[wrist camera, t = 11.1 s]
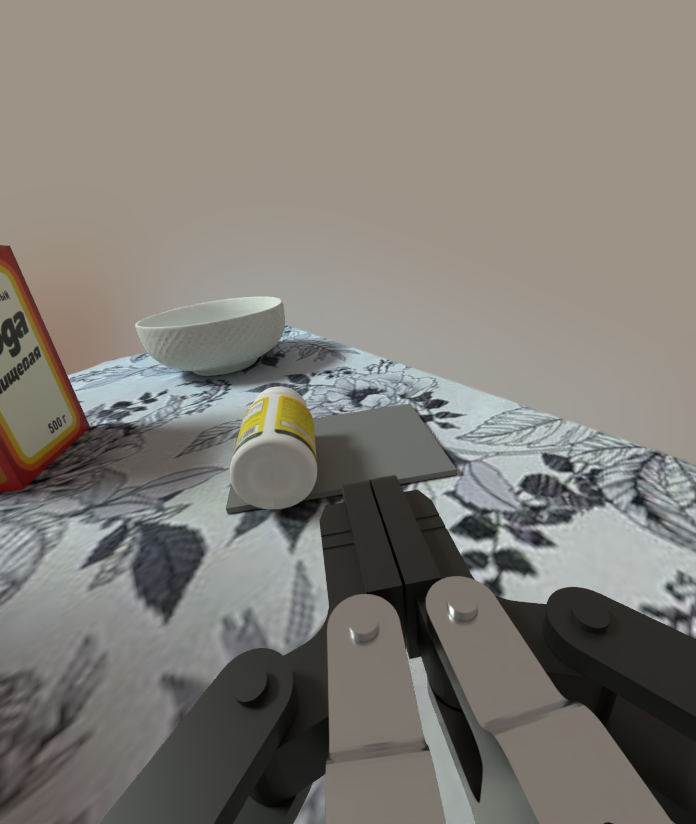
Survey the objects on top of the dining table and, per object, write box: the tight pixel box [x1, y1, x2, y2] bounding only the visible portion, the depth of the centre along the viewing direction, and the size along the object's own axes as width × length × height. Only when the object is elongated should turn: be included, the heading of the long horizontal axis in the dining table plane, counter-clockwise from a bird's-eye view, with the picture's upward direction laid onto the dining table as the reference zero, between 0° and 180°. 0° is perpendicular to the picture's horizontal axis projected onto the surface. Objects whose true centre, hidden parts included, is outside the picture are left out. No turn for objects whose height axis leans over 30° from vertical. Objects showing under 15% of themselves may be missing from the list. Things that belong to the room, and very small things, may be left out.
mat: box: [226, 404, 457, 514], centre depth 28 cm, size 10×14×1 cm
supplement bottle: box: [229, 387, 317, 509], centre depth 25 cm, size 5×5×8 cm
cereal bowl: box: [135, 297, 285, 376], centre depth 48 cm, size 17×17×7 cm
